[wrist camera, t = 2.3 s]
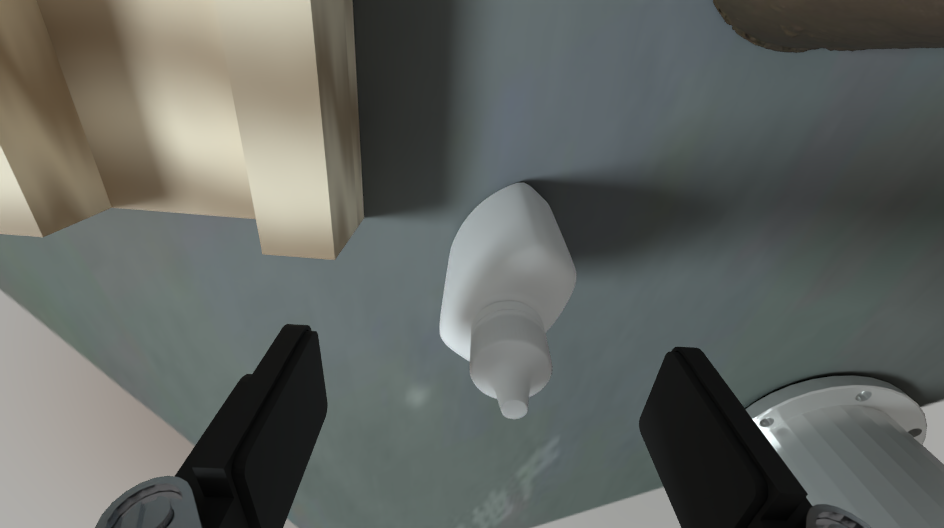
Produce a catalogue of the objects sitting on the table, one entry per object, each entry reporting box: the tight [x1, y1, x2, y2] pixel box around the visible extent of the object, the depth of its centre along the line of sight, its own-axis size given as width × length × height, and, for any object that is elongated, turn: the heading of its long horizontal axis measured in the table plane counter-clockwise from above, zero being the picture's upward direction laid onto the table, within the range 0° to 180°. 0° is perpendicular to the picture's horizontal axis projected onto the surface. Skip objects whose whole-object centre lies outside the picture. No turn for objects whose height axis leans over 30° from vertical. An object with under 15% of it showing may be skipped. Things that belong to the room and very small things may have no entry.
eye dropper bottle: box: [440, 183, 576, 419], centre depth 16 cm, size 4×6×12 cm
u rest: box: [0, 0, 364, 260], centre depth 16 cm, size 13×15×5 cm
